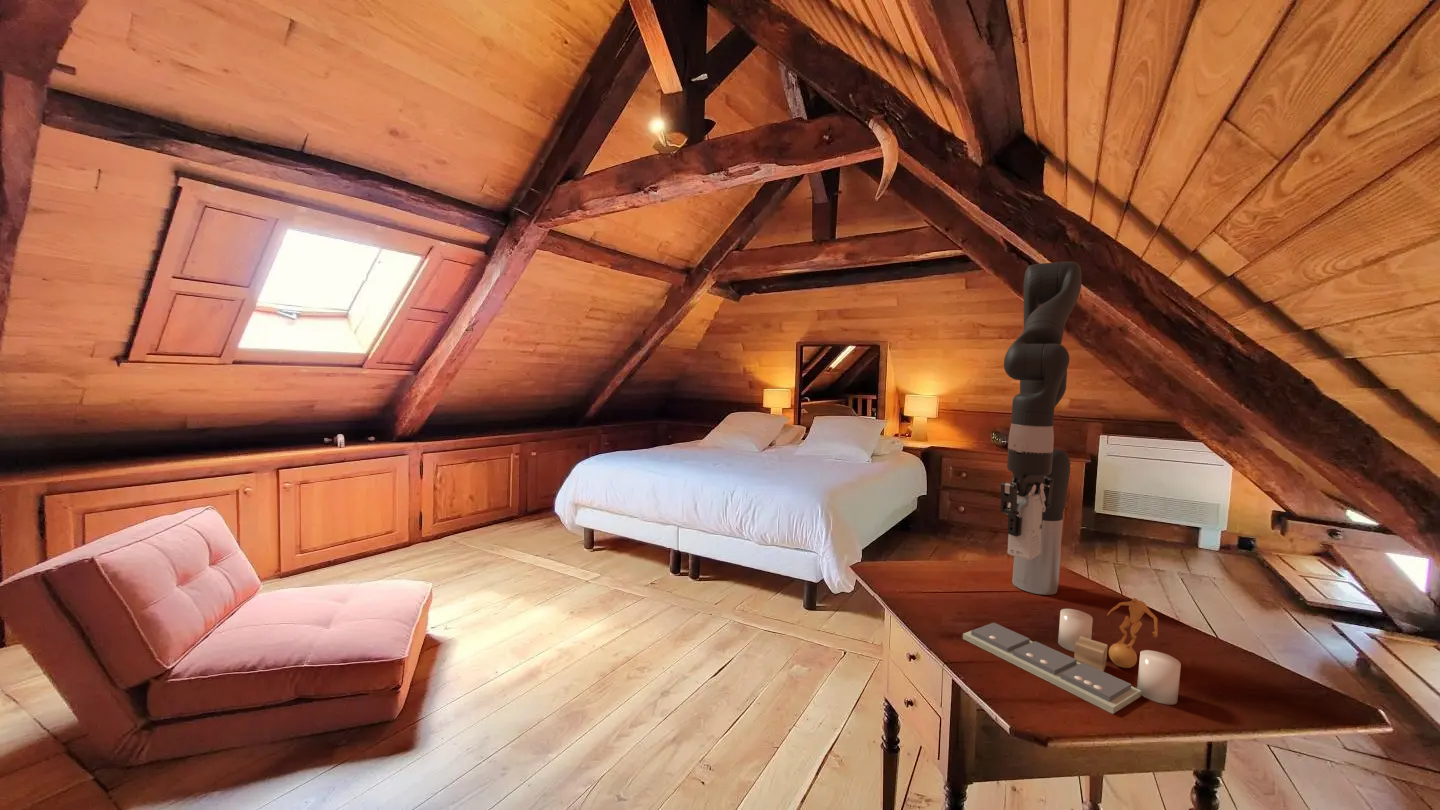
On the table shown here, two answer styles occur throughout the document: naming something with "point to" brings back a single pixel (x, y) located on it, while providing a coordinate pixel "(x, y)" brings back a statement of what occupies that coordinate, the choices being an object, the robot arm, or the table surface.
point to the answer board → (1055, 667)
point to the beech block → (1091, 653)
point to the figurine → (1120, 650)
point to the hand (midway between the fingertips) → (1024, 532)
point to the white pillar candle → (1159, 677)
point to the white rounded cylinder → (1073, 627)
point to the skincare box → (1028, 530)
